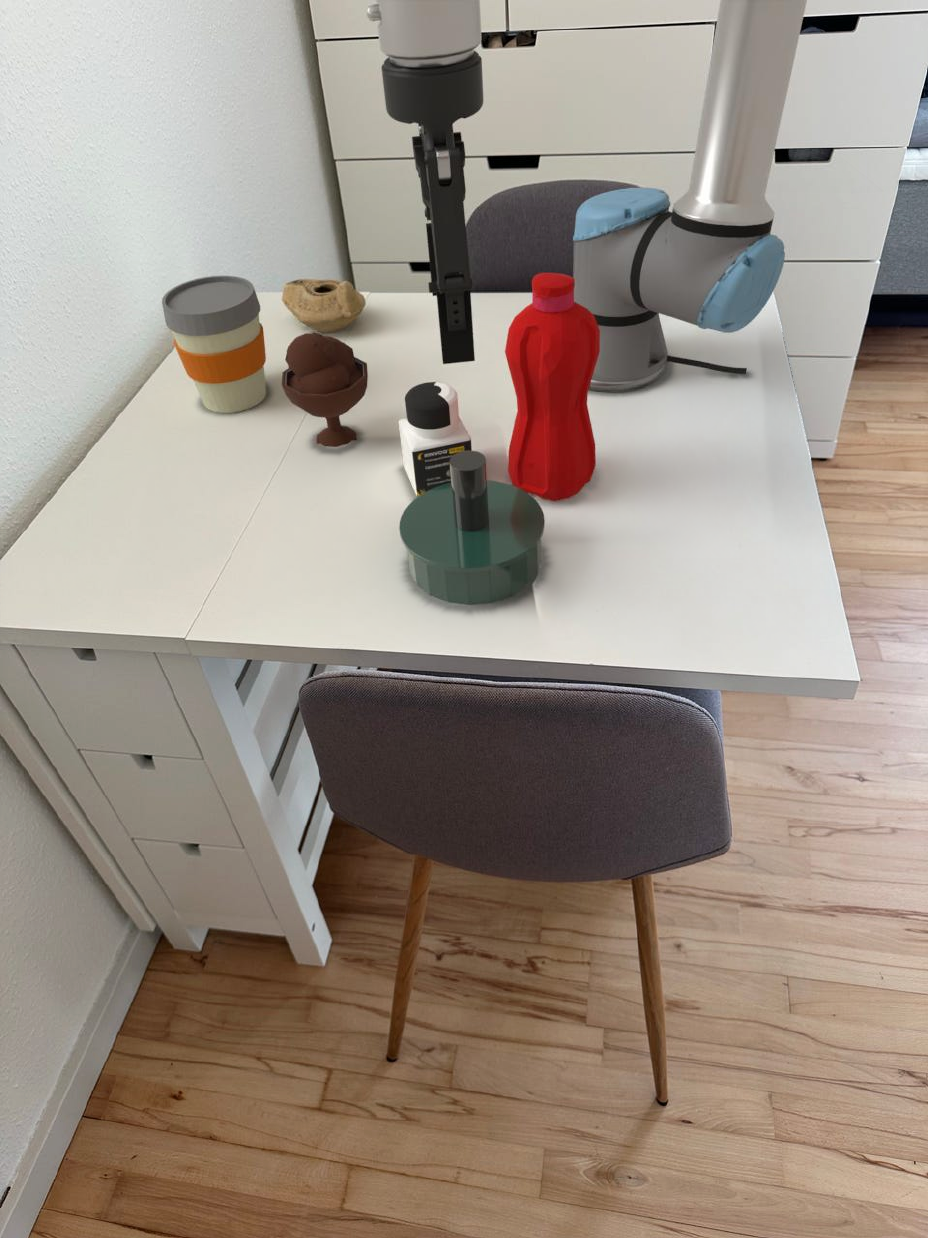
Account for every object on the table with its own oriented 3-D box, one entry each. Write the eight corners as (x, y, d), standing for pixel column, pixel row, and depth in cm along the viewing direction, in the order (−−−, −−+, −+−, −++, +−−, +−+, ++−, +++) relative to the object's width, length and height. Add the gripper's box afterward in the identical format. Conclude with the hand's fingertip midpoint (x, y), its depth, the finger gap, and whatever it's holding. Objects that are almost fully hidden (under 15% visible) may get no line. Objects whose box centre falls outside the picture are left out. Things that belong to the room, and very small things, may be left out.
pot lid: (534, 482, 101) (534, 413, 95) (554, 569, 90) (555, 497, 84) (399, 494, 101) (390, 426, 95) (402, 583, 89) (392, 513, 84)
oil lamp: (301, 304, 150) (292, 256, 145) (381, 314, 145) (375, 265, 140) (266, 333, 143) (255, 283, 137) (350, 345, 138) (342, 294, 133)
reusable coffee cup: (173, 413, 126) (140, 310, 116) (218, 371, 135) (192, 271, 124) (252, 424, 123) (226, 319, 112) (293, 380, 131) (272, 278, 121)
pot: (531, 519, 104) (531, 480, 100) (549, 601, 93) (549, 561, 90) (408, 530, 103) (403, 492, 100) (412, 614, 93) (406, 575, 89)
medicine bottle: (417, 500, 108) (407, 411, 99) (403, 468, 113) (393, 381, 104) (474, 488, 109) (469, 399, 100) (458, 457, 114) (452, 370, 106)
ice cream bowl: (366, 464, 114) (348, 354, 104) (283, 459, 116) (257, 350, 106) (387, 420, 121) (373, 313, 111) (309, 416, 123) (288, 311, 113)
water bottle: (610, 465, 111) (623, 261, 93) (566, 512, 104) (570, 302, 87) (545, 445, 115) (545, 246, 97) (498, 489, 108) (490, 285, 91)
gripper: (377, 23, 76) (405, 272, 90) (384, 103, 58) (418, 398, 72) (465, 15, 76) (479, 265, 91) (500, 92, 58) (510, 389, 73)
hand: (452, 325), depth 82 cm, fingers open, 13 cm apart
